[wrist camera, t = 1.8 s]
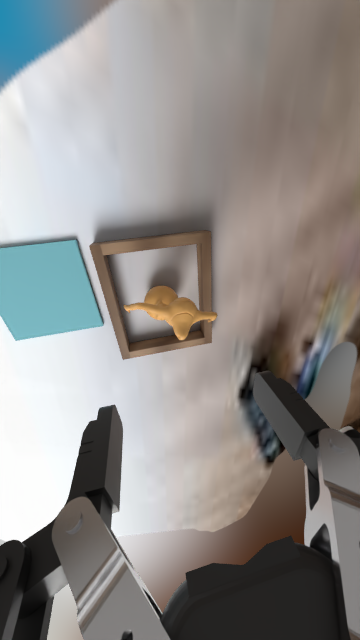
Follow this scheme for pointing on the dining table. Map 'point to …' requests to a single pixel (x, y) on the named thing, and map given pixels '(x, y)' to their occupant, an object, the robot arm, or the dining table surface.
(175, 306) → the figurine
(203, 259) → the brown wooden frame
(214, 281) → the dining table surface
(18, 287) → the teal pad
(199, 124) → the dining table surface
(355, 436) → the dixie cup
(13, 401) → the dining table surface
